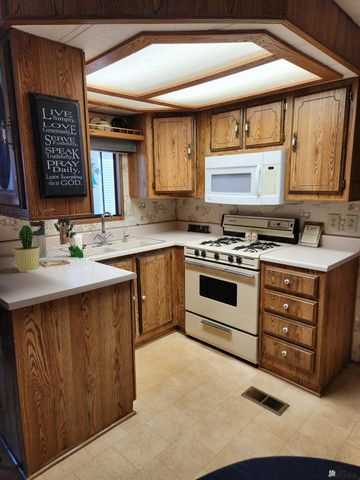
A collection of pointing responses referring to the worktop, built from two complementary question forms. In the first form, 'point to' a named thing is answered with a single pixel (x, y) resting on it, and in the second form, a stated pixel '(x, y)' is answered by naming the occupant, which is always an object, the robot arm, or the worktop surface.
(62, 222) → the robot arm
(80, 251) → the milk carton
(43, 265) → the oak rack
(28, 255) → the potted cactus
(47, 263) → the offcut upper
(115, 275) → the worktop surface
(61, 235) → the walnut board
